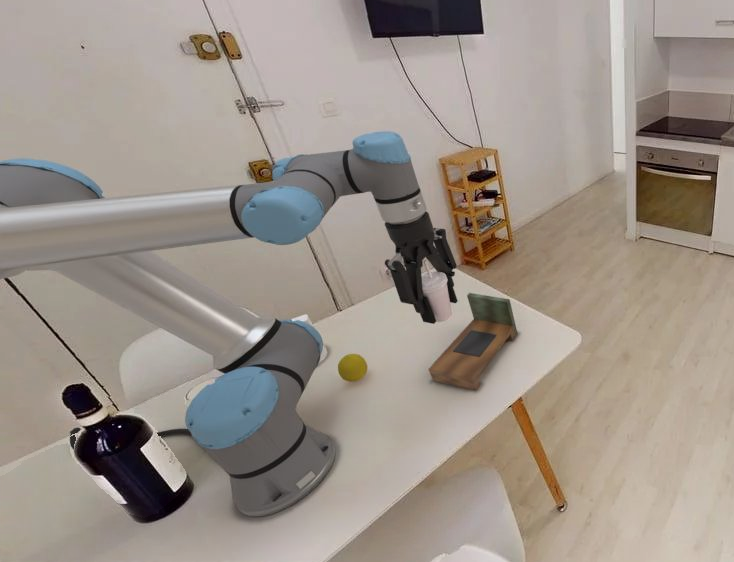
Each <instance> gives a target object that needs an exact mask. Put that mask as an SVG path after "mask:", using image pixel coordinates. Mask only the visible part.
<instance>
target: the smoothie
mask: <svg viewBox="0 0 734 562" xmlns="http://www.w3.org/2000/svg"><path fill="white" fill-rule="evenodd" d="M422 261H423V266H424V267H425V270H426V273H424V274H421V276H422V289H423V296H424V297H427V298H428V301H429V303H430V306H431V309H432V311H433V314H434V317H435V319H436V322H435V323H443V322H445V321H448V320H449V319H450V318H451V317H452V315H453V312H452V305H451V302H450V299H449V294H448V288H447V280H448V279H447V277H446V274H445V273H443V272H437V271H431V269H430V267H429V264H428V260H427V259H426V260H422Z"/></svg>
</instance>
